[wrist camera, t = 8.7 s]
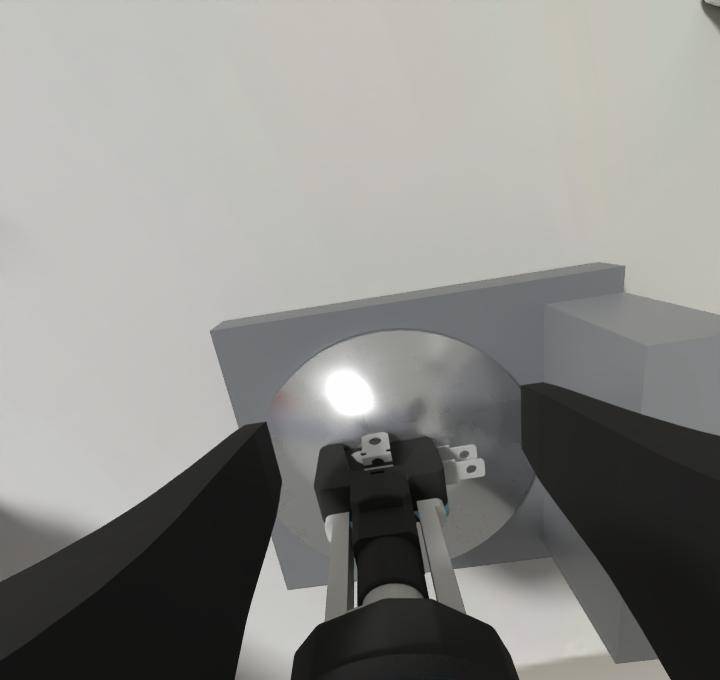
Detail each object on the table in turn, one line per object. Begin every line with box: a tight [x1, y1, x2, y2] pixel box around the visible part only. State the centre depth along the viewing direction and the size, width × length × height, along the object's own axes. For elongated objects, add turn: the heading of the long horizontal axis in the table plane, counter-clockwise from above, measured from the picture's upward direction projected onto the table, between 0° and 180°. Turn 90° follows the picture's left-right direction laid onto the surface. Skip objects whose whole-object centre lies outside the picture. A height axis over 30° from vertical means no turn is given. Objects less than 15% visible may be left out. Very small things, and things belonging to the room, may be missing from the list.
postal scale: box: [210, 262, 720, 664], centre depth 14 cm, size 16×14×6 cm
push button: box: [291, 432, 519, 680], centre depth 10 cm, size 7×5×10 cm
